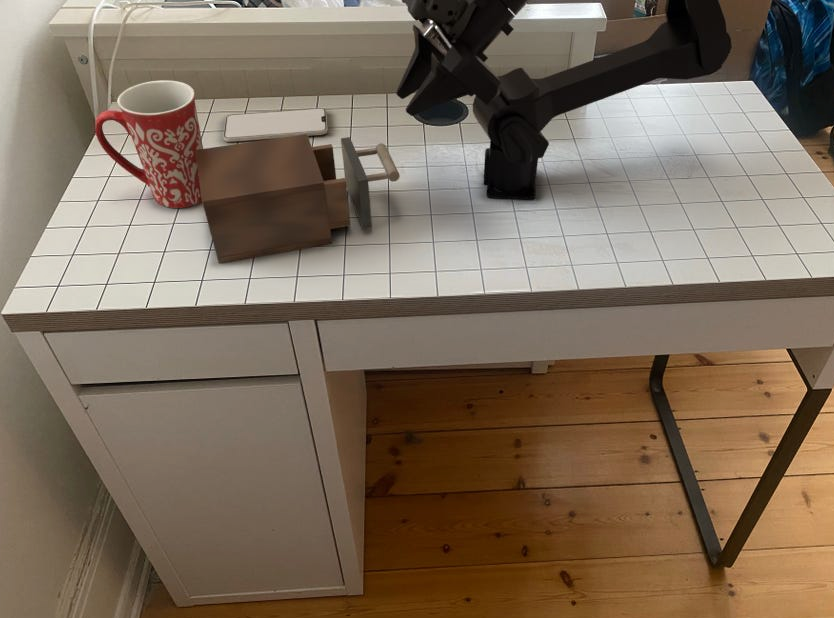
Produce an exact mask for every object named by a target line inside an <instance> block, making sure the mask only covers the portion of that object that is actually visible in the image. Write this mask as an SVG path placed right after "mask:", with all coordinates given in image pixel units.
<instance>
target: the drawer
mask: <svg viewBox="0 0 834 618" xmlns="http://www.w3.org/2000/svg"><path fill="white" fill-rule="evenodd" d="M340 145H341V154H342V164H343V172H344V174H343V175H344V177H341V178H337V171H336V165H335V155H334V147H333V144H331V143H329V144H321V145H316V146H312V149H313V152H314V155H315V158H316V161H317V164H318V166H319V169H320V172H321V175H322V178H323V181H324V185H325V193H326V201H327V209H328V216H329V224H330V230H333V229H339V228H344V227H350V226H351V215H350V207H349V198H350V200H351V203H352V205H353V208H354V211H355V213H356V215H357V218H358V221H359V223H360V226H361V229H363V230H365V229H370V228H373V225H372V212H371V197H370V185H369V182H376V181H382V180H383V181H384V180H389V181H390V182H397V181H398V180H399V179H400V176H401V175H400V172H399V171H398V168H397V166H396V164H395V162H394V160H393V158H392V156H391V154H390V152H389V150H388V147H387V146H386V144H385V143H378V144H377V145H376V146H375V147H372V148H365V149H359V150H358V149H357V150H356V148H355V145H354V143H353V141H352V139H351V136H347V137H341V138H340ZM373 155H377V157H378V158H379V162H380V163H381V165H382V168H383V169H384V172H380V173H372V174H366V172H365V171H366V170H365V169H364V166H363V165H362V162H361V159H360V158H361V157H367V156H373ZM359 157H360V158H359ZM348 195H349V198H348Z"/></svg>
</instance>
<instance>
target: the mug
mask: <svg viewBox="0 0 834 618" xmlns="http://www.w3.org/2000/svg"><path fill="white" fill-rule="evenodd" d="M195 99H196V92H195V90H194V88H193V87H192V86H191V85H189V84H187V83H185V82H182V81H177V80H169V79H168V80H167V79H163V80H152V81H146V82H142V83H139V84H135V85H132V86H130V87H128V88H127V89H125V90H124V91H122V92H121V93H120V94H119V96H118V97H117V101H116V102H117V103H116V104H117V106H118V108H119V109H120V110H121V111H119V110H105V111H103V112H101V113H99V114H98V116H97V117H96V119H95V122H94V132H95V136H96V139H97V141H98V142H99V145H100V147H101V148H102V150H103V151H104V152H105V153H106V154H107V155H108V157H110V158H111V159H112V160H113V161H114V162H115V163H116V164H118V165H119V166H120V167H121V168H123V169H124V170H125V171H126V172H128V173H129V174H131V175H132V176H133V177H135V178H137V180H139V181H141V182H142V183H144V184H146V185H147V186H148V187H149V188H150V191H151V194H152V196H153V200H154V201H155V202H156V203H157V204H158V205H160V206H163V207H166V208H172V209H183V208H188V207H192V206H195V205H197V204H199V203H202V197H201V190H200V182H199V175H198V167H197V160H196V152H195V150H199V149H204V145H203V139H202V133H201V127H200V124H199V123H200V122H199V118H198V117H199V116H198V112H197V107H196V106H197V105H196V101H195ZM107 121H108V122H109V121H114V122H116V123H118V124H120V125H121V126H122V127H123V128H124V129H125V131H126V132H127V134H128V135H129V136H131V139H132V142H133V145H134V147H135V150H136V152H137V155H138V158H139V161H140V164H141V166H142V168H140V167H138V166H137V165H135V164H134V163H132V162H131V161H130V160H128V159H127V158H126V157H125V156H124V155H122V154H121V153H120V152H119V151H117V149H115V148H114V147H113V146H112V144H111V143H110V142H109V140H108V139H107V137H106V135H105V133H104V130H103V125H104V123H106V122H107Z"/></svg>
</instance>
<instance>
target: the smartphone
mask: <svg viewBox="0 0 834 618" xmlns="http://www.w3.org/2000/svg"><path fill="white" fill-rule="evenodd" d="M328 130H329V129H328V116H327V109H326V108H324V107H315V108H302V109H288V110H287V109H286V110H274V111H261V112H259V111H258V112H249V113H246V112H245V113H233V114H228V115H227V116H225V119H224V127H223V134H222V135H223V136H222V137H223V140H224V141H225V142H226V143H227V142H228V143H230V142H232V143H233V142H245V141H260V140H269V139H276V138H283V137H290V136H297V135H304V134H307V135H308V137H309V136H322V135H325V134H327V133H328Z"/></svg>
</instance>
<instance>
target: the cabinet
mask: <svg viewBox="0 0 834 618" xmlns="http://www.w3.org/2000/svg"><path fill="white" fill-rule="evenodd" d="M312 147H313V146H312V144H311V141H310V138H309V136H308V135H307V134H304V135H297V136H290V137H283V138H272V139H261V140H254V141H248V142H242V143H233V144H227V145H221V146H220V145H219V146H213V147H208V148H203V149H199V150H195V152H196V160H197V167H198V175H199V182H200V190H201V197H202V201H201V203H202V207H203V211H204V214H205V217H206V221H207V225H208V230H209V232H210V236H211V240H212V244H213V247H214V251H215V255H216V259H217V262H218V264H222V263H227V262H233V261H239V260H244V259H251V258H257V257H263V256H267V255H273V254H279V253H285V252H291V251H297V250H303V249H308V248H313V247H314V248H315V247H319V246H325V245H331V244H333V241H332V231H331V229H330V224H329V216H328V209H327V201H326V193H325V185H324V181H323V178H322V175H321V172H320V169H319V166H318V164H317V161H316V158H315V155H314V152H313V149H312Z"/></svg>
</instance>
